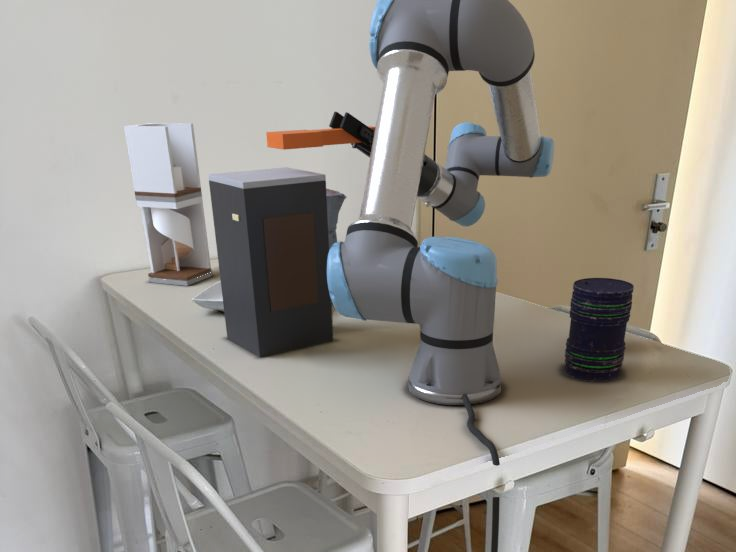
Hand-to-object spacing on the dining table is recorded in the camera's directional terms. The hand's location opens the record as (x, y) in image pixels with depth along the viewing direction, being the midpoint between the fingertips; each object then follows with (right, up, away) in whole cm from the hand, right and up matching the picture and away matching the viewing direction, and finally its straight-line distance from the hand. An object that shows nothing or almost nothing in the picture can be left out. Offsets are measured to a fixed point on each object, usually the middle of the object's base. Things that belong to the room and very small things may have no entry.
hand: (338, 119), depth 140 cm
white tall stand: (-43, -12, +55) cm, 71 cm away
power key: (-2, -4, +1) cm, 5 cm away
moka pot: (-9, -2, +73) cm, 73 cm away
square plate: (-17, -24, +36) cm, 46 cm away
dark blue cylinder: (+44, -47, -6) cm, 65 cm away
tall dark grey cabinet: (-12, -37, +12) cm, 41 cm away
